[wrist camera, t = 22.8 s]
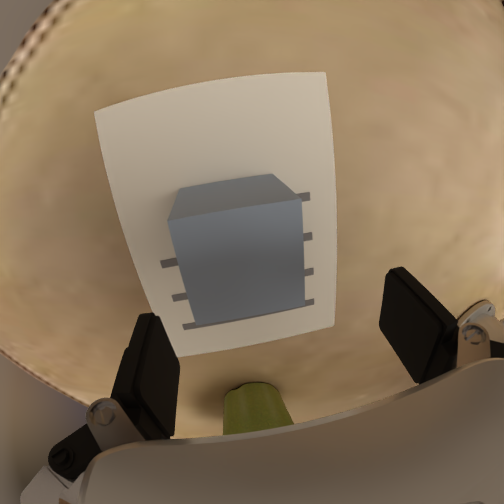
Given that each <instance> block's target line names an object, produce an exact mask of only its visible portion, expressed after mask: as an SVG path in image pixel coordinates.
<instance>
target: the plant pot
mask: <svg viewBox="0 0 504 504" xmlns="http://www.w3.org/2000/svg"><path fill="white" fill-rule="evenodd" d="M293 424H294V423H293V421H292V419H291V417H290V415H289V413H288V411H287V409H286V406H285V404H284V402H283V400H282V398H281V396H280V394H279V392H278V390H276V389H275V388H274V387H273V386H272V385H270V384H266V383H249V384H244V385H242V386H241V387H240V388H238V389H236V390H231V391H230V392H228V394H227V395H226V396H225V399H224V420H223V435H232V434H240V433H248V432H255V431H261V430H267V429H273V428H278V427H283V426H289V425H293Z"/></svg>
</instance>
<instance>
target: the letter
mask: <svg viewBox="0 0 504 504" xmlns="http://www.w3.org/2000/svg"><path fill="white" fill-rule="evenodd" d="M94 115H95V121H96V126H97V132H98V137H99V142H100V146H101V151H102V156H103V160H104V164H105V169H106V173H107V177H108V181H109V185H110V188H111V192H112V196H113V199H114V203H115V206H116V210H117V213H118V217H119V220H120V223H121V227H122V230H123V233H124V236H125V239H126V242H127V245H128V248H129V251H130V254H131V257H132V260H133V262H134V265H135V268H136V271H137V274H138V276H139V279H140V282H141V284H142V287H143V289H144V292H145V294H146V297H147V299H148V302H149V304H150V307H151V309H152V312H153V313H154V314H155V315H156V316H159V317H160V318H161V321H162V323H163V326H164V328H165V331H166V333H167V335H168V338H169V340H170V342H171V345H172V347H173V349H174V352H175V354H176V356H177V357H184V356H191V355H198V354H204V353H210V352H216V351H222V350H228V349H234V348H239V347H244V346H249V345H254V344H259V343H264V342H269V341H274V340H278V339H283V338H287V337H291V336H296V335H300V334H304V333H308V332H312V331H316V330H320V329H324V328H327V327H331V326H334V322H335V304H336V278H337V205H336V179H335V161H334V147H333V134H332V123H331V113H330V104H329V96H328V88H327V80H326V73H325V72H292V73H273V74H261V75H250V76H241V77H233V78H226V79H219V80H213V81H207V82H201V83H196V84H190V85H186V86H181V87H176V88H172V89H167V90H163V91H159V92H155V93H151V94H148V95H144V96H140V97H137V98H133V99H130V100H127V101H124V102H120V103H117V104H114V105H111V106H108V107H105V108H103V109H100V110H97V111H94ZM266 174H274V175H275V176H276V177H277V178H278V179H279V180H281V181H282V182H283V183H284V184H285V185H286V186H288V187H289V188H290V189H291V190H292V191H293V192H294V193H296V194H297V195H298V196H299V197H300V198H301V199H302V216H303V239H304V270H305V306H300V307H295V308H291V309H286V310H281V311H276V312H271V313H266V314H260V315H255V316H250V317H244V318H238V319H233V320H227V321H221V322H215V323H208V324H202V325H196V324H195V320H194V317H193V314H192V311H191V307H190V304H189V301H188V297H187V294H186V290H185V287H184V283H183V280H182V276H181V273H180V269H179V265H178V262H177V258H176V254H175V250H174V246H173V243H172V239H171V235H170V231H169V226H168V222H167V220H168V217H169V215H170V212H171V209H172V207H173V204H174V202H175V199H176V196H177V194H178V191H179V189H180V188H185V187H191V186H196V185H202V184H207V183H213V182H219V181H225V180H231V179H238V178H245V177H251V176H259V175H266Z"/></svg>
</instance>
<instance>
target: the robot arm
mask: <svg viewBox="0 0 504 504" xmlns="http://www.w3.org/2000/svg"><path fill="white" fill-rule="evenodd" d="M379 327H380V330H381V331H382V333H383V334H384V336H385V337H386V339H387V340H388V342H389V343H390V345H391V346H392V348H393V349H394V351H395V352H396V354H397V355H398V357H399V358H400V360H401V361H402V363H403V365H404V366H405V368H406V369H407V371H408V372H409V374H410V376H411V377H412V379H413V380H414V382H415V383H419V385H417V386H415V387H413V388H410V389H408V390H405V391H403V392H400V393H398V394H395V395H393V396H390V397H387V398H385V399H382V400H379V401H376V402H373V403H370V404H367V405H364V406H361V407H358V408H355V409H352V410H348V411H345V412H342V413H338V414H335V415H331V416H327V417H323V418H319V419H315V420H311V421H307V422H303V423H298V424H293V425H289V426H283V427H278V428H273V429H267V430H261V431H255V432H248V433H240V434H232V435H223V436H212V437H201V438H186V439H170V436H174V431H175V418H176V406H177V395H178V385H179V375H180V364H179V360H178V358H177V356H176V354H175V352H174V349H173V347H172V345H171V342H170V340H169V338H168V335H167V333H166V331H165V328H164V326H163V323H162V321H161V318H160V317H159V316H156V315H155V314H154V313H145V314H140V315H139V317H138V319H137V322H136V325H135V328H134V331H133V334H132V337H131V340H130V343H129V346H128V347H127V348H126V349H125V351H124V354H123V357H122V360H121V363H120V366H119V369H118V373H117V376H116V379H115V383H114V386H113V390H112V393H111V397H110V398H101V399H98V400H96V401H95V402H93V403H92V404H91V405H90V406H89V408H88V410H87V412H86V422H87V424H85V425H84V426H83V427H81V428H79V429H78V430H77V431H75V432H74V433H72V434H71V435H69V436H68V437H66V438H65V439H64V440H62V441H60V442H59V443H58V444H56V445H55V446H54V447H53V448H52V449H51V451H50V453H49V456H48V462H49V466H48V467H46V466H43V468H42V469H41V470H40V471H39V472H38V474H37V475H36V476H35V477H34V478H33V480H32V481H31V482H30V483H29V485H28V486H27V487H26V488H25V490H24V491H23V492H22V494H21V498H20V501H21V504H504V318H503V319H502V320H500V321H499V320H498V319H497V318H496V317H495V307H494V305H493V304H492V303H491V302H489V301H482V302H479V303H477V304H476V305H474V306H473V307H471V308H470V309H469V310H468V311H467V312H466V313H465V314H464V315H463V316H462V317H461V318H460V319H459V320H457V319H456V318H455V317H454V316H453V315H452V314H451V313H450V312H449V311H448V310H447V309H446V308H445V307H444V306H443V305H442V304H441V303H440V302H439V301H438V300H437V299H436V298H435V297H434V296H433V295H432V294H431V293H430V292H429V291H428V290H427V289H426V288H425V287H424V286H423V285H422V284H421V283H420V282H419V281H418V280H417V279H416V278H415V277H414V276H412V275H411V274H410V273H409V272H408V271H407V270H406V269H405V268H404V267H397V268H393V269H390V270H389V272H388V273H387V274H386V277H385V285H384V293H383V300H382V307H381V313H380V319H379Z"/></svg>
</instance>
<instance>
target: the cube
mask: <svg viewBox="0 0 504 504" xmlns="http://www.w3.org/2000/svg"><path fill="white" fill-rule="evenodd" d="M167 222H168V226H169V231H170V235H171V239H172V243H173V246H174V250H175V254H176V258H177V262H178V265H179V269H180V273H181V276H182V280H183V283H184V287H185V290H186V294H187V297H188V301H189V304H190V307H191V311H192V314H193V317H194V320H195V324H196V325H202V324H208V323H215V322H221V321H227V320H233V319H238V318H244V317H250V316H255V315H260V314H266V313H271V312H276V311H281V310H286V309H291V308H295V307H300V306H305V270H304V239H303V216H302V199H301V198H300V197H299V196H298V195H297V194H296V193H294V192H293V191H292V190H291V189H290V188H289V187H288V186H286V185H285V184H284V183H283V182H282V181H281V180H279V179H278V178H277V177H276V176H275V175H274V174H266V175H259V176H251V177H245V178H238V179H231V180H225V181H219V182H213V183H207V184H202V185H196V186H191V187H185V188H180V189H179V191H178V194H177V196H176V199H175V202H174V204H173V207H172V209H171V212H170V215H169V217H168V220H167Z"/></svg>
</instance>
